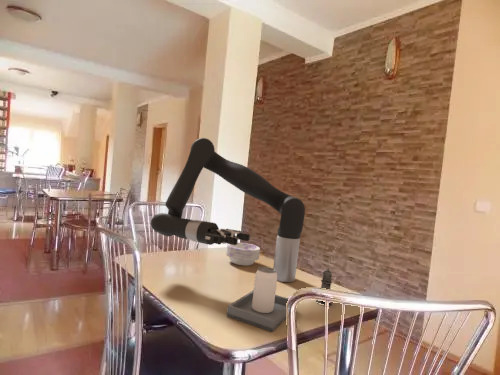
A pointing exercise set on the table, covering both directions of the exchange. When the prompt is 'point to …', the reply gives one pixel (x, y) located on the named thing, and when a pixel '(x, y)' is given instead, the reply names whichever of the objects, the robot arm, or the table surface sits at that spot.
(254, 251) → the paper bowls
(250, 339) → the table surface
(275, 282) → the can
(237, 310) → the tray
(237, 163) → the robot arm
